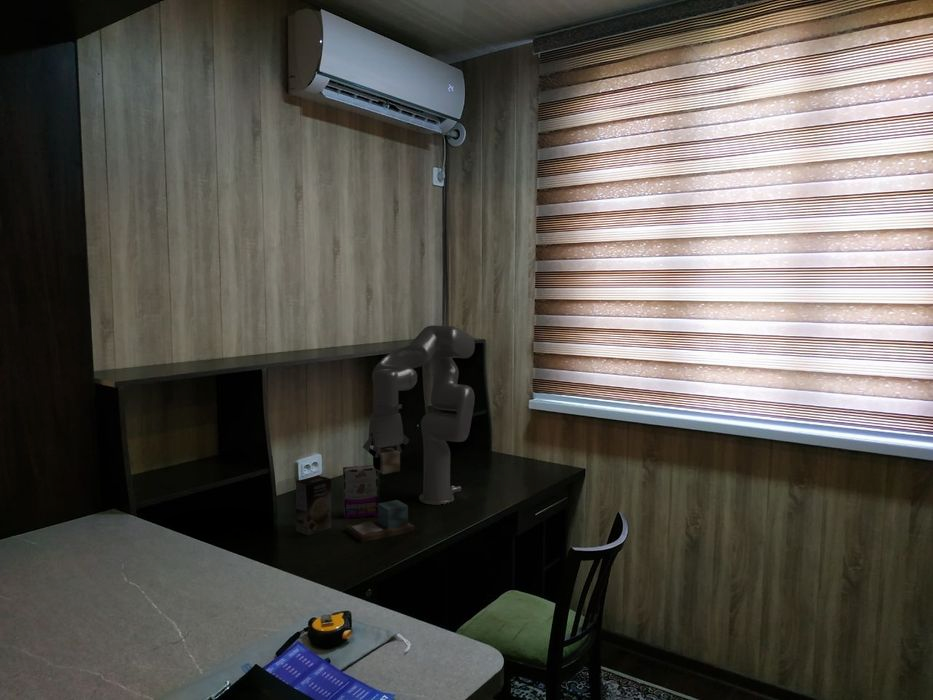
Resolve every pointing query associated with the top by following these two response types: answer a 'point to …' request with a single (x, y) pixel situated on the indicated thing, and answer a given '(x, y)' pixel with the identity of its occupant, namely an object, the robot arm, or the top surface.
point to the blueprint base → (379, 534)
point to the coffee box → (313, 505)
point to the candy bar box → (360, 491)
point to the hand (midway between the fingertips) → (386, 466)
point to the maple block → (389, 461)
